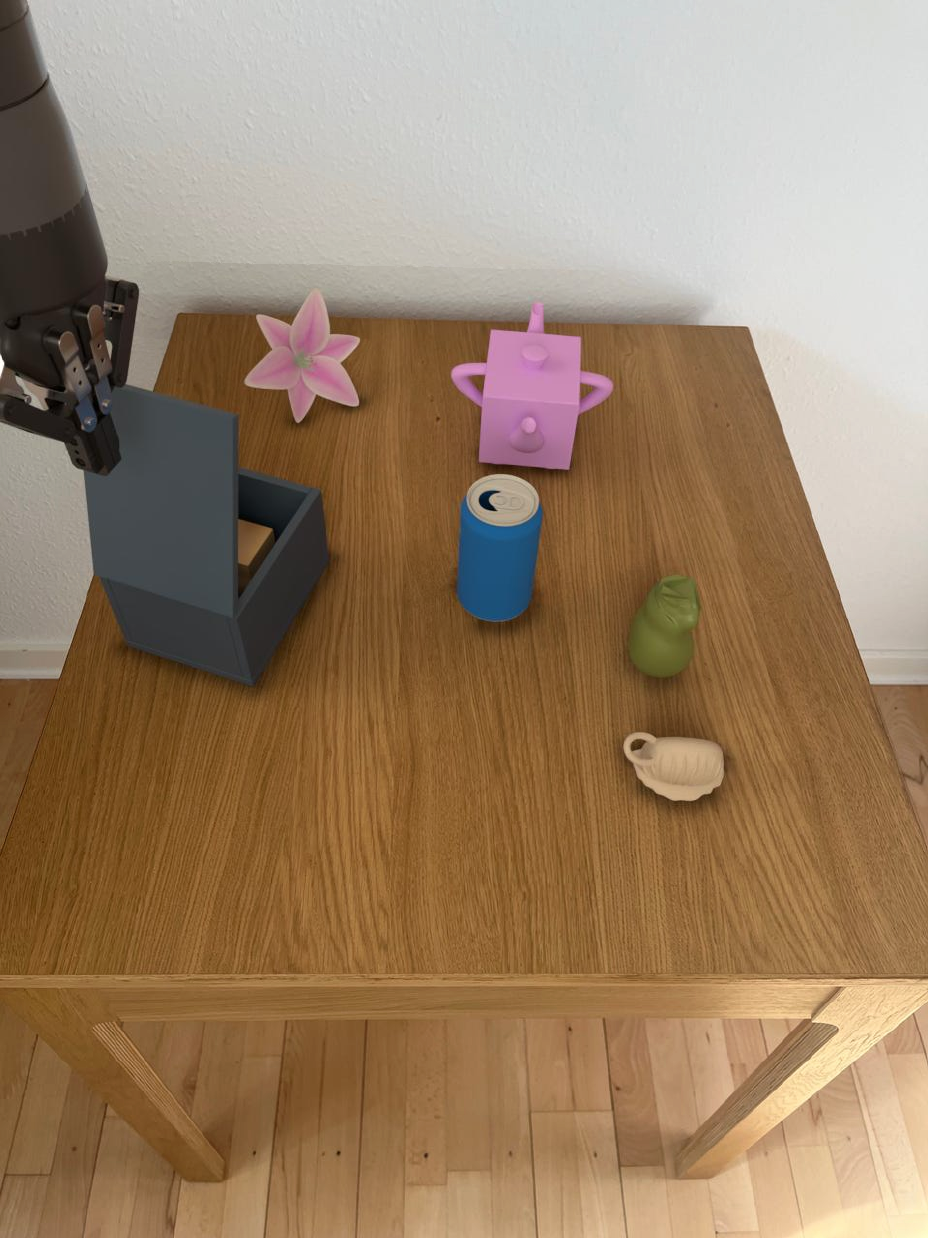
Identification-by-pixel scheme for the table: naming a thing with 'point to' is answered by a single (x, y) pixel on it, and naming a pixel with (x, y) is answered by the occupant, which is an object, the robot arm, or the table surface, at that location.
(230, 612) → the lid
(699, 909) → the table surface
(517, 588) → the beverage can
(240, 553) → the block
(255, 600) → the chest
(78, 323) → the robot arm
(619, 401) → the table surface
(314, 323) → the lily
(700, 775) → the decorative ornament
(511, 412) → the teapot
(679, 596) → the olive green lumpy piece
